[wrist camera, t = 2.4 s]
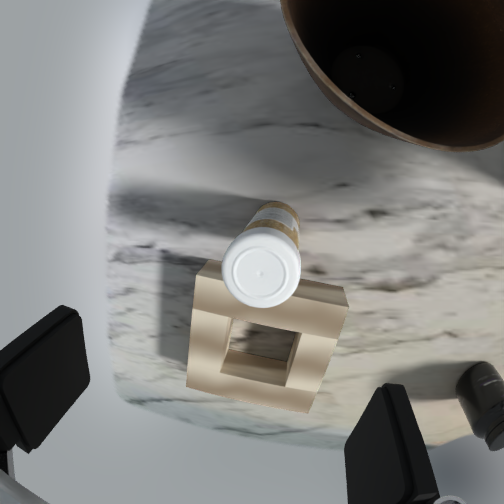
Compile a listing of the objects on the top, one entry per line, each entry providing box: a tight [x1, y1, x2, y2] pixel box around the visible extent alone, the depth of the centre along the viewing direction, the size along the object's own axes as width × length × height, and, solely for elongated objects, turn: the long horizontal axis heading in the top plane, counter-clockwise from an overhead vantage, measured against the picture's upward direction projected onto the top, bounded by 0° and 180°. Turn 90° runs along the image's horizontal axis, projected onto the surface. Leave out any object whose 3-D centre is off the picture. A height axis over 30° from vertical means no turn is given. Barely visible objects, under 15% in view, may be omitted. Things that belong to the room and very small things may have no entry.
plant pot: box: [280, 0, 504, 152], centre depth 17 cm, size 15×15×16 cm
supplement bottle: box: [456, 363, 504, 451], centre depth 27 cm, size 7×7×12 cm
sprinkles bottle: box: [222, 202, 301, 308], centre depth 24 cm, size 5×5×13 cm
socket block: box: [186, 259, 349, 413], centre depth 32 cm, size 14×14×4 cm
